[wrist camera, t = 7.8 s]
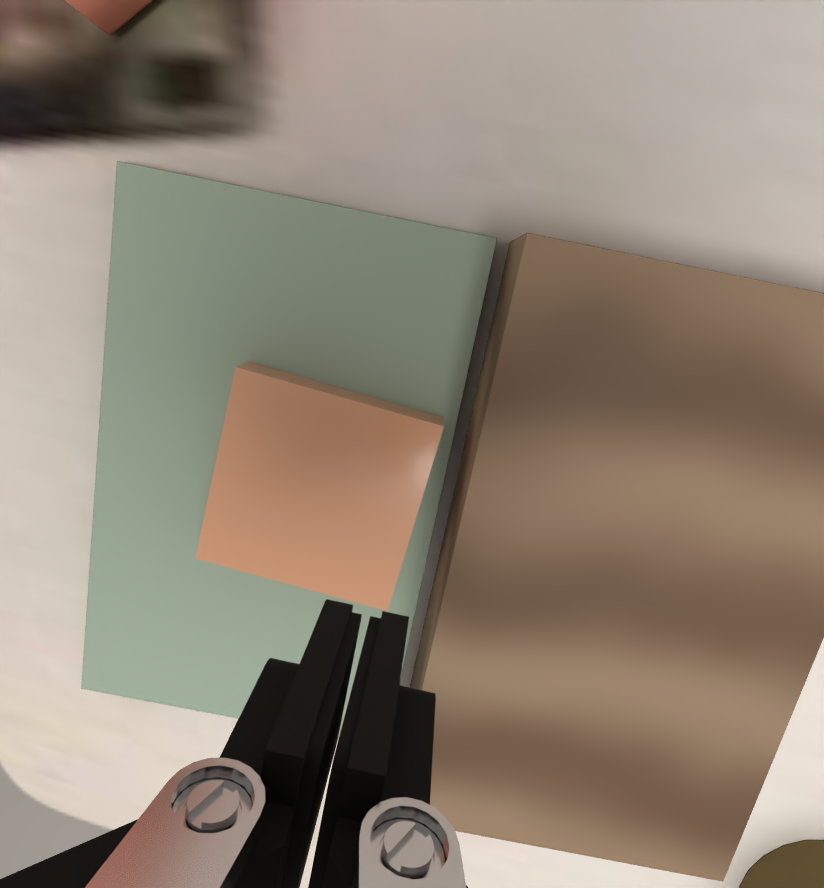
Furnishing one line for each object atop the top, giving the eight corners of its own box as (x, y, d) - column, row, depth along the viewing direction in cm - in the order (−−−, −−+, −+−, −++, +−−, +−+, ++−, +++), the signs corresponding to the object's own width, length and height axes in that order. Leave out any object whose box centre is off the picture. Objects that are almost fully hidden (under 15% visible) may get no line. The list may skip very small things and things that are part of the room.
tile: (248, 361, 21) (235, 366, 20) (443, 417, 22) (443, 426, 20) (210, 541, 23) (195, 558, 22) (390, 591, 23) (387, 611, 22)
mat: (126, 164, 20) (117, 161, 20) (495, 239, 21) (496, 238, 20) (89, 679, 26) (81, 688, 25) (386, 736, 26) (385, 746, 25)
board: (509, 242, 21) (527, 232, 17) (857, 313, 21) (954, 320, 17) (398, 738, 26) (392, 818, 22) (679, 792, 26) (723, 881, 22)
